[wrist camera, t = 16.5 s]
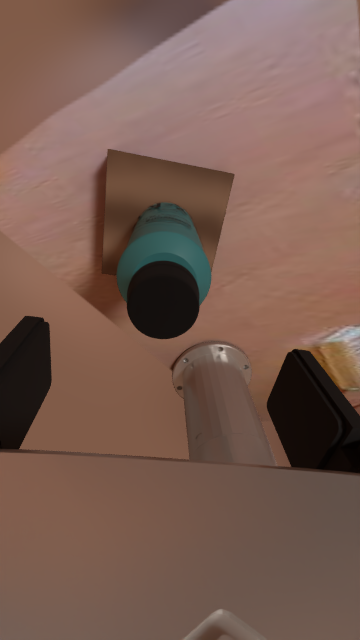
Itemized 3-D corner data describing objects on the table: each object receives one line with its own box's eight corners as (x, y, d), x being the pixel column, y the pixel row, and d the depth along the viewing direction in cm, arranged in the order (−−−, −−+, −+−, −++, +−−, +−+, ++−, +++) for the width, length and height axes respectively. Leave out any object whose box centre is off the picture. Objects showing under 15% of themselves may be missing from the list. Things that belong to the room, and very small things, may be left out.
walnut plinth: (204, 279, 39) (207, 288, 36) (106, 265, 37) (101, 273, 35) (228, 172, 33) (234, 174, 30) (112, 149, 31) (107, 148, 28)
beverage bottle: (198, 251, 34) (234, 350, 16) (142, 262, 34) (120, 370, 17) (189, 192, 31) (222, 236, 13) (128, 204, 31) (82, 263, 14)
